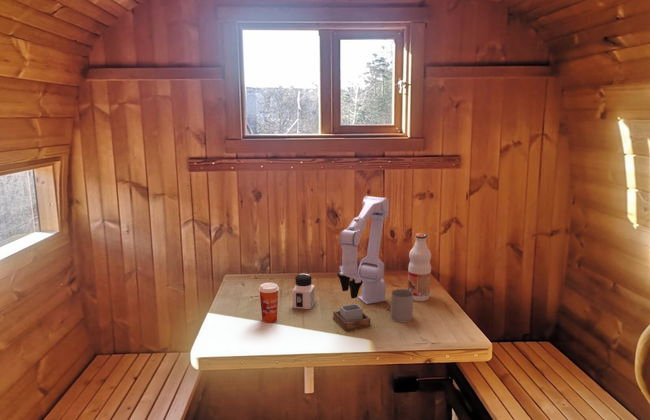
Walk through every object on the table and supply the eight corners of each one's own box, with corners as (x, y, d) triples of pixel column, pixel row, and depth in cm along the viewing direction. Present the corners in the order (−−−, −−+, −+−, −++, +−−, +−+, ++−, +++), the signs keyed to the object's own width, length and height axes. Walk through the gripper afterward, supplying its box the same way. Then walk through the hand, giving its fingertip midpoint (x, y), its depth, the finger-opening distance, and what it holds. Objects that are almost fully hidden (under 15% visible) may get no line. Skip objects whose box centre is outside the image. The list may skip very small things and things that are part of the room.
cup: (414, 314, 197) (414, 290, 195) (410, 323, 189) (411, 298, 187) (392, 311, 200) (393, 288, 197) (388, 320, 192) (389, 295, 190)
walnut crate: (356, 314, 197) (357, 307, 196) (370, 326, 187) (370, 318, 186) (333, 318, 193) (333, 311, 192) (345, 330, 183) (345, 323, 182)
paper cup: (263, 325, 187) (262, 290, 184) (256, 318, 194) (255, 284, 191) (283, 321, 191) (282, 287, 188) (275, 314, 198) (274, 280, 194)
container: (310, 309, 202) (310, 279, 199) (292, 308, 203) (291, 277, 200) (314, 302, 209) (314, 272, 206) (297, 300, 211) (296, 271, 208)
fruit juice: (427, 303, 208) (430, 238, 202) (405, 300, 211) (407, 236, 205) (430, 294, 216) (433, 232, 210) (409, 292, 219) (411, 230, 213)
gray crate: (356, 316, 193) (356, 303, 192) (362, 322, 189) (362, 308, 188) (340, 320, 191) (340, 306, 190) (345, 325, 186) (345, 311, 185)
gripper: (332, 256, 194) (332, 289, 197) (348, 268, 181) (348, 302, 184) (348, 254, 197) (348, 286, 200) (366, 265, 184) (365, 299, 187)
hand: (349, 294), depth 192 cm, fingers open, 7 cm apart
